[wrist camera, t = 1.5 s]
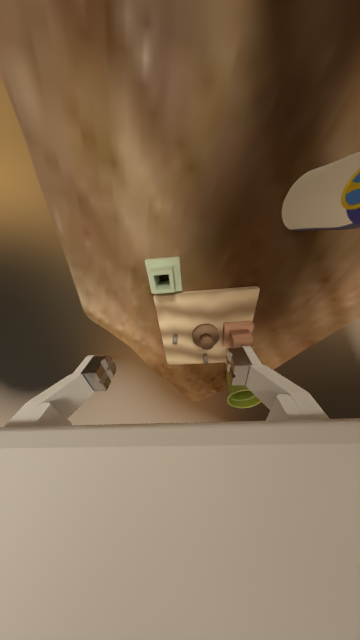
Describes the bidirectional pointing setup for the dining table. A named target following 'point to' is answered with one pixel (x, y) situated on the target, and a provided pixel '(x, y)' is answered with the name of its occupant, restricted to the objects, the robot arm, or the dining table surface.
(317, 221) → the water bottle
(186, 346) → the plate
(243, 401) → the plant pot
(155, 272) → the pale green pipe fitting
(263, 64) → the dining table surface
